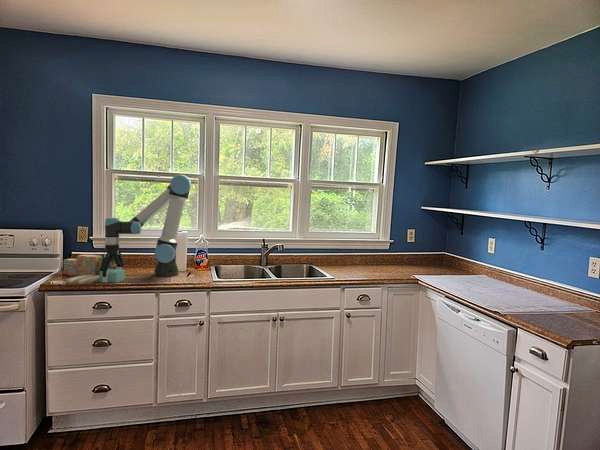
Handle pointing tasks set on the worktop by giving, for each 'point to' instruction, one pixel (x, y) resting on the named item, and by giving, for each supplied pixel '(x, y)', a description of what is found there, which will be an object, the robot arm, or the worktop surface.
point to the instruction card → (57, 282)
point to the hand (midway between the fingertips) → (112, 280)
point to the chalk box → (111, 266)
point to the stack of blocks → (82, 265)
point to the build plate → (84, 279)
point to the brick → (114, 275)
